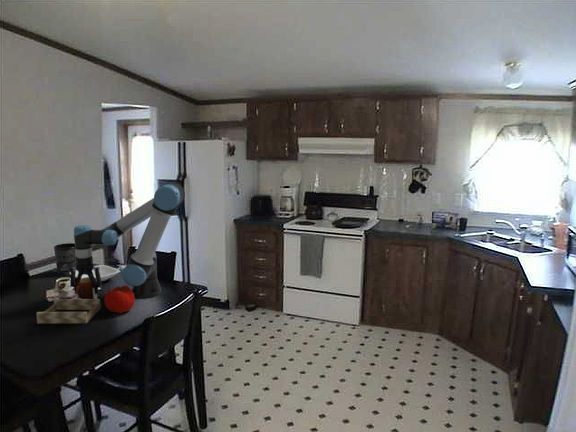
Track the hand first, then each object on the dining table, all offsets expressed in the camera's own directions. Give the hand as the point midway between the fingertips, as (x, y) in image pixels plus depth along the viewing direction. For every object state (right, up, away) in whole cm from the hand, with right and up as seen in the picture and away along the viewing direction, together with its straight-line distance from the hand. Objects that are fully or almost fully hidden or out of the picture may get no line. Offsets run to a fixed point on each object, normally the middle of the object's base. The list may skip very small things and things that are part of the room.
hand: (87, 299), depth 205 cm
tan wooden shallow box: (0, -4, -16) cm, 16 cm away
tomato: (+20, -4, -8) cm, 22 cm away
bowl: (-11, +4, +32) cm, 34 cm away
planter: (-34, +7, +45) cm, 56 cm away
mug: (0, 0, 0) cm, 1 cm away
